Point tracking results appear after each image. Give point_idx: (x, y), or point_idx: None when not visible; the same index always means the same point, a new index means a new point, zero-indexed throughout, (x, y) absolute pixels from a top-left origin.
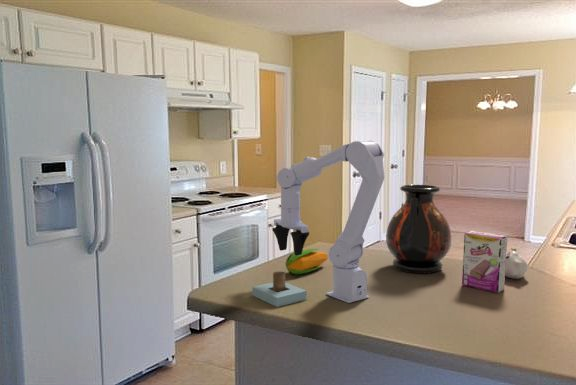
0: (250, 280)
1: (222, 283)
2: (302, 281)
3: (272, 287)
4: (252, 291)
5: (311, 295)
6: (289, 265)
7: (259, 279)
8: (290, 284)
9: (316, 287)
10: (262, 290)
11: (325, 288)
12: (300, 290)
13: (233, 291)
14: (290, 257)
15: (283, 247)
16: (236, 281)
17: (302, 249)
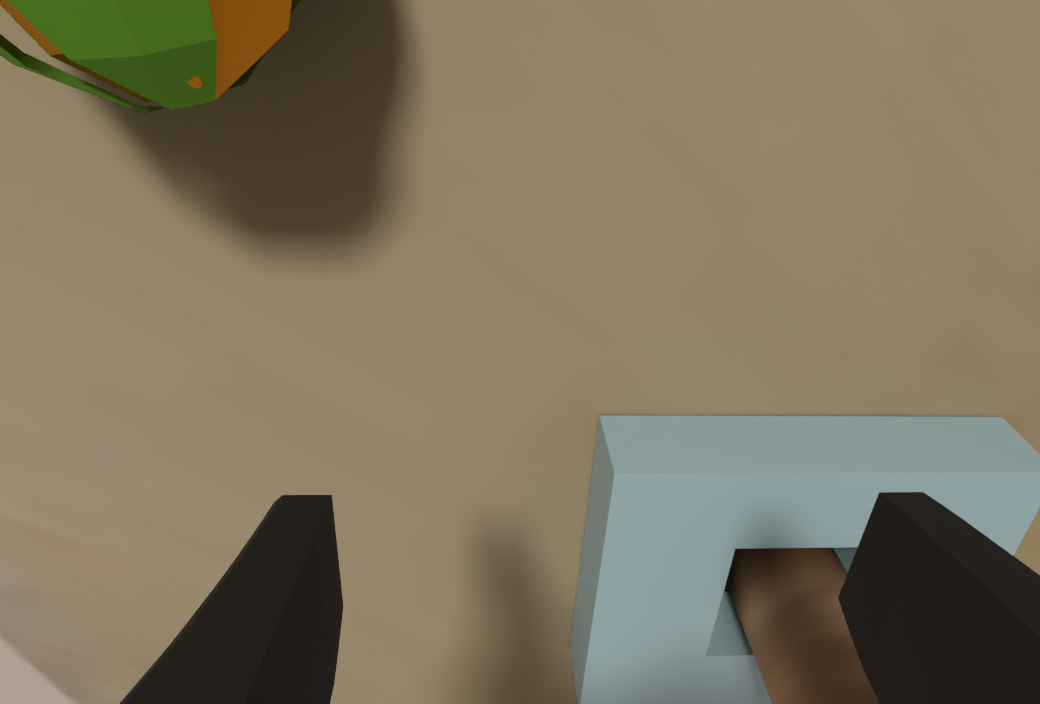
0: (154, 486)
1: (130, 677)
2: (549, 39)
3: (713, 616)
4: (575, 676)
5: (978, 310)
6: (208, 95)
7: (163, 404)
8: (793, 473)
9: (870, 73)
10: (716, 700)
11: (994, 4)
12: (999, 504)
13: (389, 693)
14: (21, 4)
15: (325, 606)
16: (124, 585)
17: (1020, 570)
